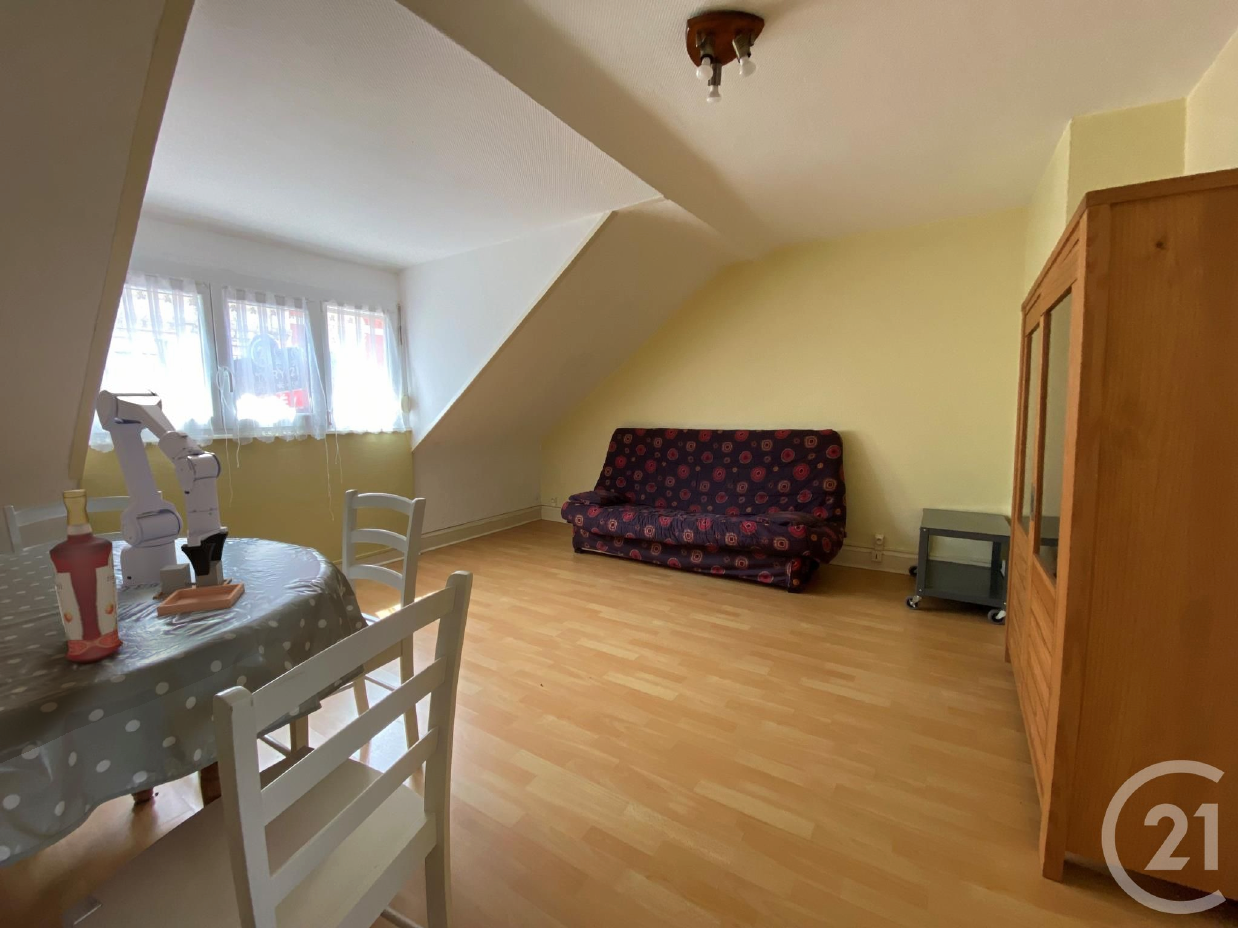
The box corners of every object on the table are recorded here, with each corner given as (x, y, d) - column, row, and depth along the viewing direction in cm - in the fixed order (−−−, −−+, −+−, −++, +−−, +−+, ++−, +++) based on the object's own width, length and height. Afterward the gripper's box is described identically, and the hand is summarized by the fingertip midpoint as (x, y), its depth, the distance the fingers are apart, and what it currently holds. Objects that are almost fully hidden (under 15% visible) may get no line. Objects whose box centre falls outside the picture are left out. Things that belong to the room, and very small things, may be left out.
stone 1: (162, 595, 117) (159, 570, 116) (170, 589, 120) (167, 565, 120) (185, 592, 118) (182, 568, 117) (192, 586, 122) (189, 562, 121)
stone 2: (196, 591, 119) (193, 567, 118) (202, 585, 123) (200, 562, 122) (218, 589, 120) (215, 565, 119) (224, 583, 124) (221, 560, 123)
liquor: (125, 657, 91) (104, 491, 87) (63, 672, 86) (38, 497, 82) (125, 642, 96) (106, 485, 92) (67, 655, 91) (43, 490, 88)
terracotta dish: (158, 617, 106) (156, 607, 106) (178, 599, 116) (177, 589, 115) (231, 609, 111) (230, 598, 110) (244, 592, 120) (243, 582, 120)
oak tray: (152, 601, 115) (152, 597, 114) (168, 588, 122) (168, 584, 122) (221, 594, 119) (220, 589, 119) (232, 582, 126) (231, 578, 126)
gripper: (213, 514, 114) (220, 577, 115) (234, 501, 127) (239, 558, 129) (172, 517, 111) (179, 582, 113) (197, 504, 125) (203, 561, 126)
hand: (209, 569), depth 121 cm, fingers open, 7 cm apart
